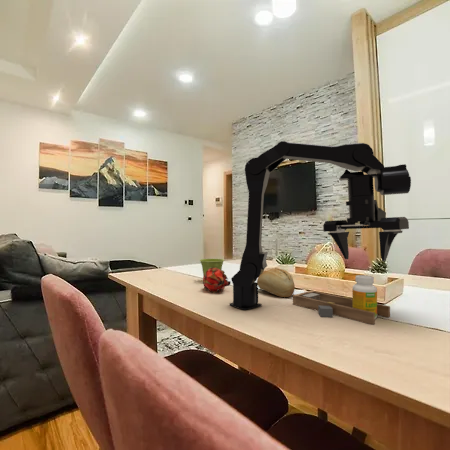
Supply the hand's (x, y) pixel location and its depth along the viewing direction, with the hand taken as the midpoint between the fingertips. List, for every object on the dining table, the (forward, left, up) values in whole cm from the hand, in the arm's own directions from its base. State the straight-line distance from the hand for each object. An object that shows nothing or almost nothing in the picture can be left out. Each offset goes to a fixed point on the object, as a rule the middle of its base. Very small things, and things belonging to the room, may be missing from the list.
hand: (364, 260), depth 73 cm
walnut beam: (-1, +6, -14) cm, 15 cm away
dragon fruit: (-12, +44, -14) cm, 48 cm away
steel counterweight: (-1, +15, -14) cm, 20 cm away
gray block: (-8, +6, -14) cm, 17 cm away
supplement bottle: (-1, -1, -14) cm, 14 cm away
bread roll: (+1, +29, -14) cm, 33 cm away
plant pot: (-4, +57, -14) cm, 59 cm away
